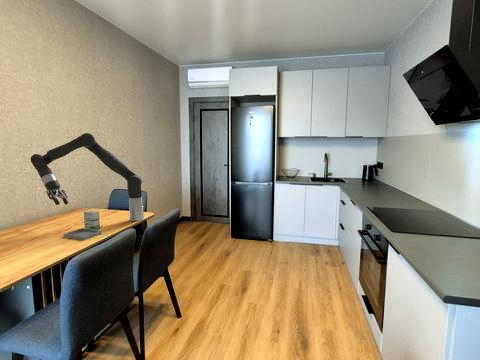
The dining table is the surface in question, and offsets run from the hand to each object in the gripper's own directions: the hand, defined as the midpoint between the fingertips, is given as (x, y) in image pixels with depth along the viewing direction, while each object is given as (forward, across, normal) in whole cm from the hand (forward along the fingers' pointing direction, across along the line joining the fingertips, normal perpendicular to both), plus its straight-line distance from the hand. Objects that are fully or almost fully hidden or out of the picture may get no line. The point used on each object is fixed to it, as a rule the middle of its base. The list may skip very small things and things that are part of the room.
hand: (62, 204), depth 172 cm
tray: (+25, -6, -5) cm, 26 cm away
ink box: (+22, +7, -5) cm, 24 cm away
